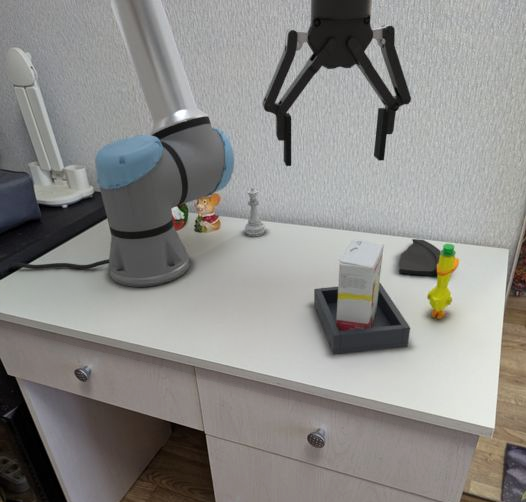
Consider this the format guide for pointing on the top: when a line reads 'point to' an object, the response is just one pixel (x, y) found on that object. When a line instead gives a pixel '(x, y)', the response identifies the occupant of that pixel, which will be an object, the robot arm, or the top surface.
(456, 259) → the toy figure
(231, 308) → the top surface
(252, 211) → the chess piece
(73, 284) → the top surface
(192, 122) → the robot arm
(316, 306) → the dark gray rectangular tray
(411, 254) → the dark sector wedge
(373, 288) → the ink box
